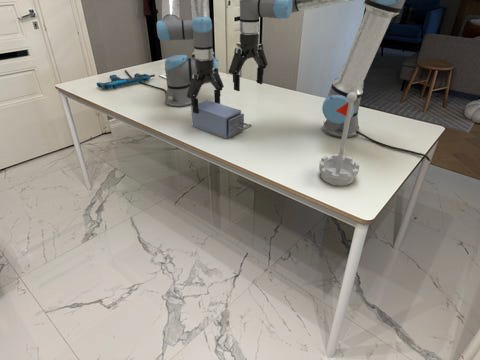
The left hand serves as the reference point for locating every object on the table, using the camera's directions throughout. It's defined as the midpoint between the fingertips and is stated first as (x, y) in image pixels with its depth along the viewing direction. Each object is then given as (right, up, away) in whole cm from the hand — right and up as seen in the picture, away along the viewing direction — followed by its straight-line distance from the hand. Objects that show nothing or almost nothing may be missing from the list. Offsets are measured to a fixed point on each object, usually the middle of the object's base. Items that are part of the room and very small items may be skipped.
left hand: (207, 108), depth 150 cm
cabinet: (+4, -9, +2) cm, 10 cm away
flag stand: (+48, -31, -32) cm, 66 cm away
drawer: (+8, -10, -2) cm, 13 cm away
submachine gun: (-56, +29, +60) cm, 87 cm away
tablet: (-20, +33, +66) cm, 76 cm away
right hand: (+18, +8, -7) cm, 21 cm away
